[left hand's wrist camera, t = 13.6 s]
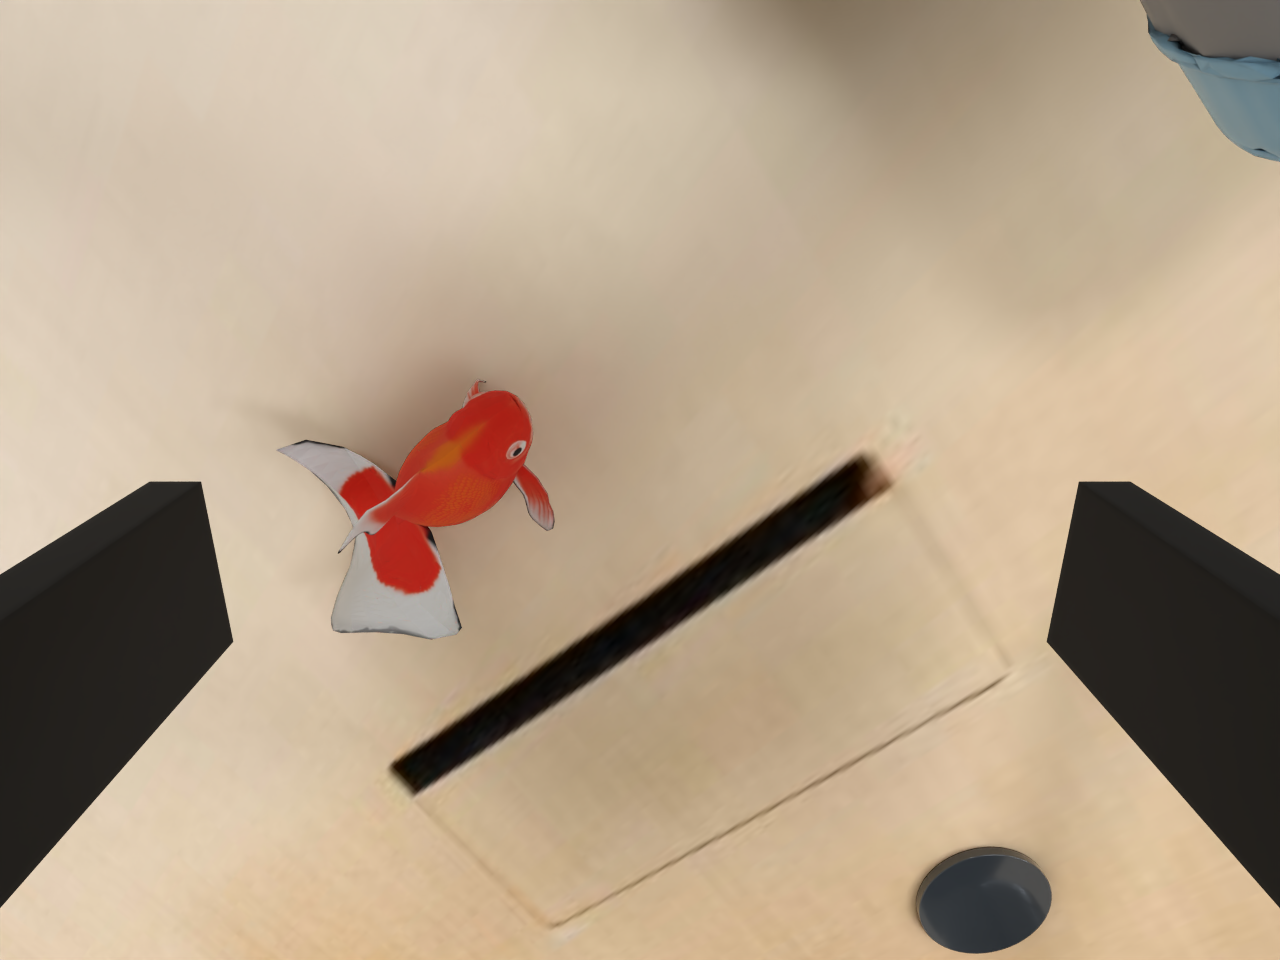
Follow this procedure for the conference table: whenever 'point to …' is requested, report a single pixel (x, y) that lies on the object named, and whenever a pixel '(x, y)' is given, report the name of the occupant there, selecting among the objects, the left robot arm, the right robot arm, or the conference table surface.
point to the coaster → (983, 900)
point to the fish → (423, 511)
